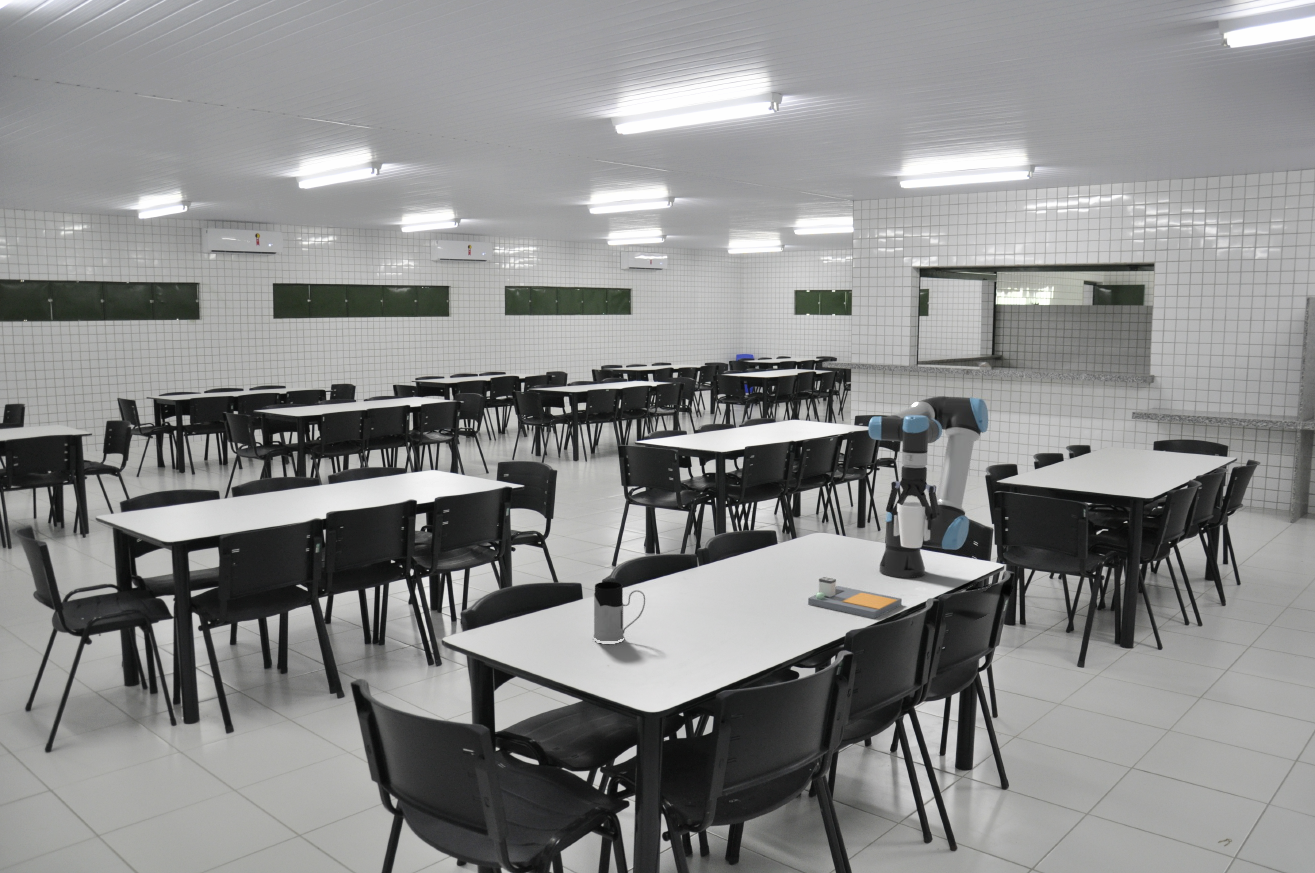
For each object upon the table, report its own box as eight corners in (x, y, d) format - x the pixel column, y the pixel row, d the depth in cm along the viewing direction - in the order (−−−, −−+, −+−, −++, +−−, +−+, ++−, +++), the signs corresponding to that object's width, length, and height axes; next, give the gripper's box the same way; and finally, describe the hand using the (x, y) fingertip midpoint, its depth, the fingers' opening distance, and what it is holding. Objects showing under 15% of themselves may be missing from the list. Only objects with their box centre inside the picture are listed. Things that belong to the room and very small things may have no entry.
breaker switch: (823, 592, 299) (824, 576, 299) (835, 594, 297) (835, 579, 296) (818, 594, 297) (819, 578, 297) (830, 597, 295) (830, 581, 294)
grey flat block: (837, 591, 308) (837, 581, 308) (901, 604, 294) (901, 593, 294) (808, 604, 295) (808, 593, 294) (873, 618, 281) (874, 606, 280)
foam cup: (927, 549, 293) (929, 507, 292) (896, 548, 295) (898, 506, 294) (925, 543, 303) (927, 502, 301) (895, 541, 304) (896, 501, 303)
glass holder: (594, 633, 266) (594, 580, 264) (645, 634, 265) (645, 581, 263) (590, 644, 257) (590, 589, 255) (644, 645, 256) (644, 590, 255)
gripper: (875, 463, 300) (873, 534, 303) (943, 470, 286) (940, 544, 289) (886, 461, 306) (884, 530, 308) (953, 468, 292) (950, 540, 295)
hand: (911, 537), depth 299 cm, fingers closed on foam cup, 9 cm apart
